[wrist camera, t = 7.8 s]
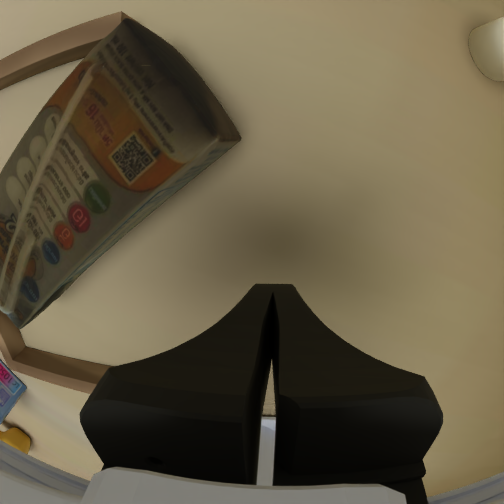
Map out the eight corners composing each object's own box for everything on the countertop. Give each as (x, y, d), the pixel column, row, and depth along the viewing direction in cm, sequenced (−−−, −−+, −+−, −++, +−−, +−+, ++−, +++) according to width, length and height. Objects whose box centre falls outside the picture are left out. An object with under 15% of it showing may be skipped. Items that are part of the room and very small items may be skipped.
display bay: (173, 387, 24) (165, 409, 22) (21, 355, 26) (9, 368, 23) (139, 23, 15) (121, 11, 12) (-30, 90, 16) (-49, 91, 14)
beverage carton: (8, 221, 21) (-47, 249, 14) (172, 38, 15) (124, 2, 9) (61, 296, 22) (14, 340, 16) (251, 136, 17) (235, 136, 11)
